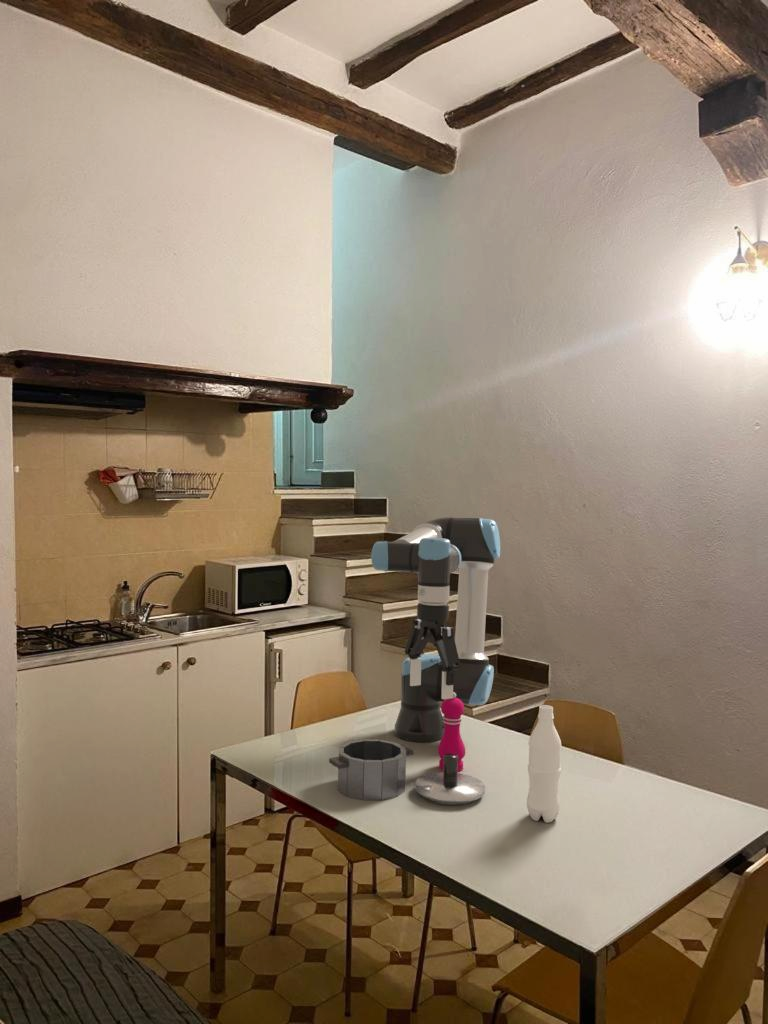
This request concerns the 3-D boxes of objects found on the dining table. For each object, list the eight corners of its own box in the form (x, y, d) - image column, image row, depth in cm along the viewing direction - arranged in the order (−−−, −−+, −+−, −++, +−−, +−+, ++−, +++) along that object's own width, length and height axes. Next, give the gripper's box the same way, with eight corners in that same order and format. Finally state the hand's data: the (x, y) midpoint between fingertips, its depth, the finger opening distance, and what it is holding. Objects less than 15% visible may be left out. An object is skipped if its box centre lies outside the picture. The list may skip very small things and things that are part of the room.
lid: (456, 777, 200) (457, 740, 200) (499, 800, 186) (500, 760, 186) (401, 789, 192) (402, 751, 191) (442, 814, 178) (443, 772, 177)
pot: (389, 768, 205) (390, 734, 205) (425, 790, 191) (426, 753, 191) (317, 783, 194) (318, 747, 193) (350, 807, 180) (351, 768, 180)
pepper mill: (464, 764, 210) (466, 689, 209) (464, 773, 203) (467, 696, 202) (437, 762, 211) (439, 687, 210) (436, 772, 203) (438, 695, 203)
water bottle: (550, 827, 172) (554, 713, 171) (520, 818, 176) (524, 707, 175) (564, 817, 177) (568, 706, 177) (535, 808, 182) (538, 700, 181)
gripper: (392, 597, 197) (390, 681, 198) (450, 611, 176) (447, 706, 176) (417, 595, 201) (415, 678, 202) (477, 609, 180) (475, 702, 180)
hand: (430, 691), depth 189 cm, fingers open, 13 cm apart
